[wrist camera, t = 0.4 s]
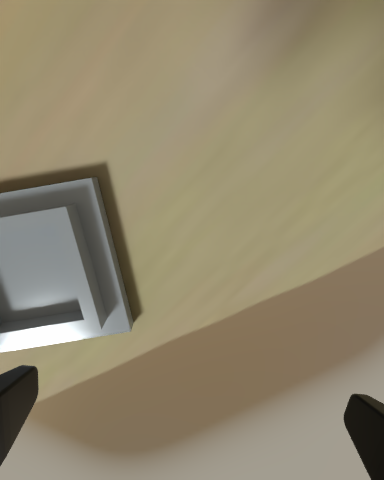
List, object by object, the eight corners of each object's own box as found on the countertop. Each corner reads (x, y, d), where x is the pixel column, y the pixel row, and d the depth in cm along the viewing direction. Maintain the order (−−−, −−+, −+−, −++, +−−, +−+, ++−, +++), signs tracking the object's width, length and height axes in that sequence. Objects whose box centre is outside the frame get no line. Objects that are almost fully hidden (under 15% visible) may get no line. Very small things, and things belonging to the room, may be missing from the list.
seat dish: (-66, 205, 20) (-106, 211, 17) (96, 177, 19) (82, 178, 17) (-7, 345, 23) (-33, 369, 20) (133, 322, 23) (126, 344, 20)
